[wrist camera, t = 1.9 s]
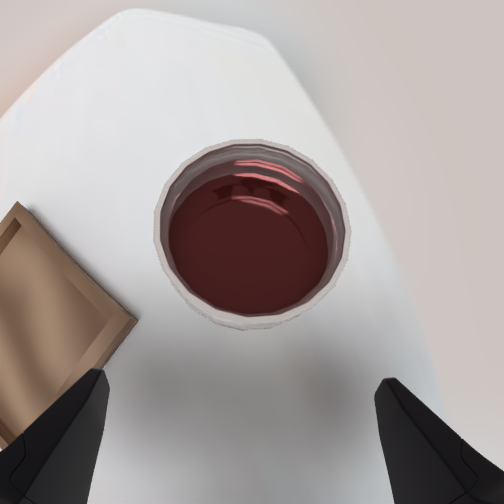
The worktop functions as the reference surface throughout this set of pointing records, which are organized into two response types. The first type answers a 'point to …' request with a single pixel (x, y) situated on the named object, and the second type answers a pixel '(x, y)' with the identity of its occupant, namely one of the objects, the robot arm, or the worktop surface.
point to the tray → (47, 322)
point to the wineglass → (251, 233)
